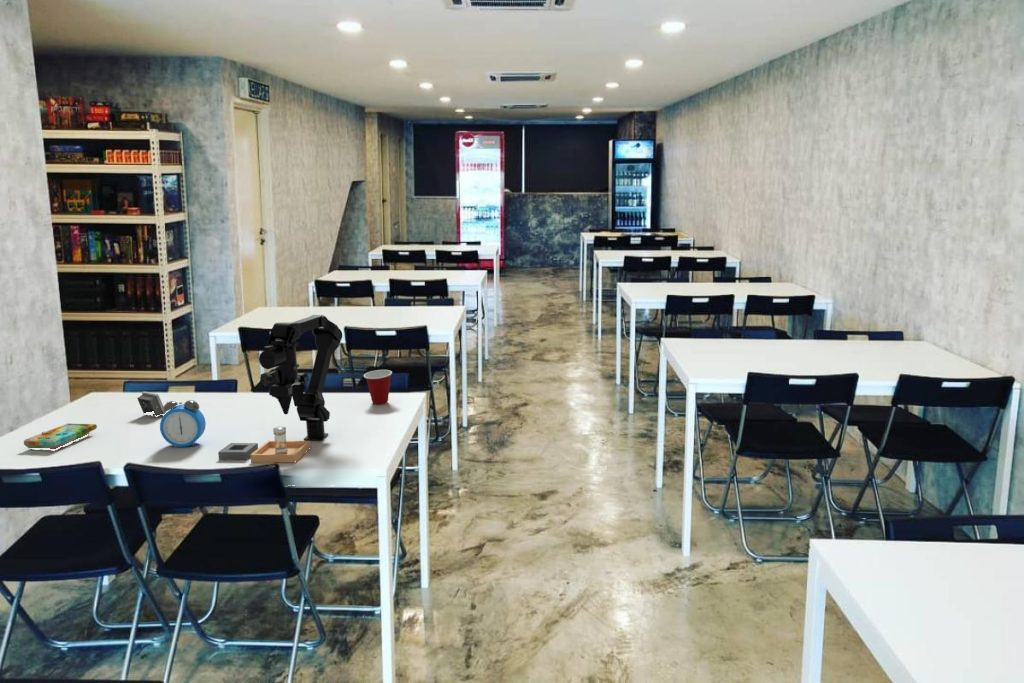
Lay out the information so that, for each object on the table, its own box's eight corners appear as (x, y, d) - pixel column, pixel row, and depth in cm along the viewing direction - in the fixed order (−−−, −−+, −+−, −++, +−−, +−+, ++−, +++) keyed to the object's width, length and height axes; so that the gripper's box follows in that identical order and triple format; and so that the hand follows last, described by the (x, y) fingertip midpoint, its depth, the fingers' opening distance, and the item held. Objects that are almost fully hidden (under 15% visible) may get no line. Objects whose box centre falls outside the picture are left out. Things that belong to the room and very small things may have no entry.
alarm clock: (161, 448, 271) (156, 404, 268) (168, 442, 277) (163, 399, 274) (202, 446, 271) (197, 402, 269) (208, 441, 278) (203, 397, 275)
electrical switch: (167, 415, 310) (162, 392, 308) (155, 420, 306) (150, 397, 304) (152, 412, 315) (147, 389, 313) (140, 417, 311) (134, 394, 309)
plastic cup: (359, 404, 319) (357, 373, 317) (381, 398, 327) (379, 368, 324) (377, 408, 312) (375, 377, 309) (399, 402, 320) (397, 371, 317)
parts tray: (268, 448, 268) (268, 440, 268) (310, 448, 266) (310, 440, 266) (251, 462, 254) (250, 454, 254) (295, 462, 253) (294, 455, 252)
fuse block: (231, 450, 267) (230, 442, 266) (258, 450, 266) (257, 443, 265) (218, 459, 258) (218, 452, 258) (246, 459, 257) (245, 452, 257)
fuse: (277, 450, 262) (275, 426, 261) (289, 450, 262) (287, 426, 260) (273, 454, 259) (271, 430, 257) (285, 454, 258) (282, 430, 257)
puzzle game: (23, 438, 272) (67, 420, 291) (25, 452, 273) (68, 433, 292) (53, 439, 269) (96, 421, 289) (55, 453, 270) (97, 434, 290)
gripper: (274, 356, 271) (278, 402, 274) (250, 369, 252) (255, 418, 255) (307, 355, 269) (310, 402, 272) (285, 368, 251) (289, 418, 254)
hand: (291, 410), depth 264 cm, fingers open, 9 cm apart
